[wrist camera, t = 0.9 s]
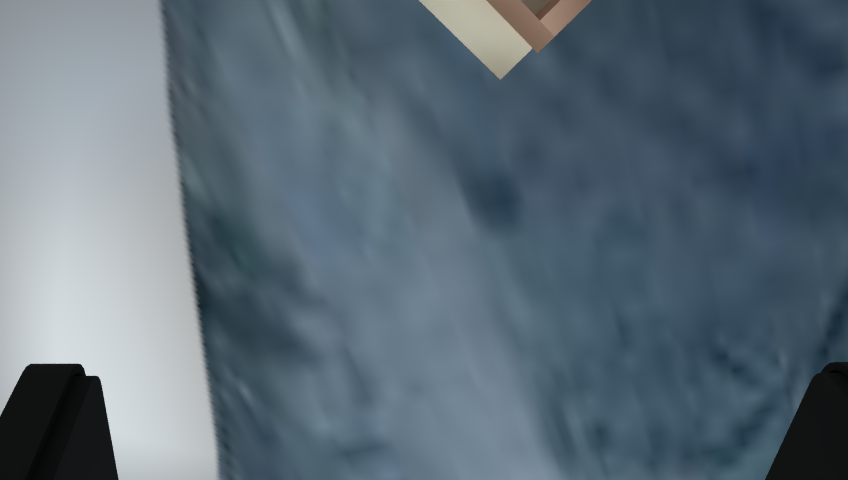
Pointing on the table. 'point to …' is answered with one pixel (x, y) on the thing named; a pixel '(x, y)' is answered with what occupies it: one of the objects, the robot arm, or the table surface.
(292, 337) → the table surface
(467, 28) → the display base
